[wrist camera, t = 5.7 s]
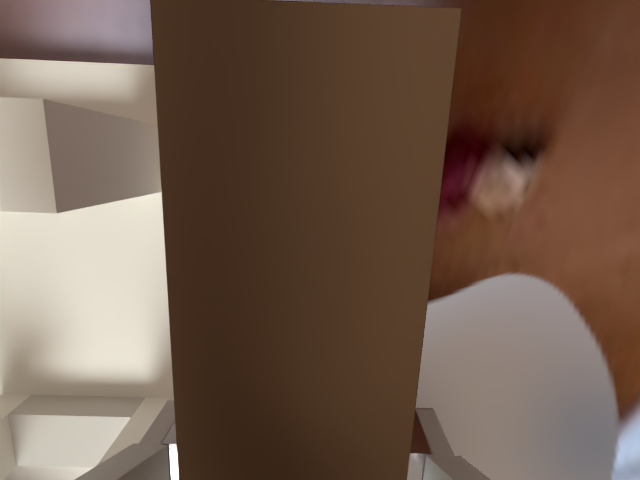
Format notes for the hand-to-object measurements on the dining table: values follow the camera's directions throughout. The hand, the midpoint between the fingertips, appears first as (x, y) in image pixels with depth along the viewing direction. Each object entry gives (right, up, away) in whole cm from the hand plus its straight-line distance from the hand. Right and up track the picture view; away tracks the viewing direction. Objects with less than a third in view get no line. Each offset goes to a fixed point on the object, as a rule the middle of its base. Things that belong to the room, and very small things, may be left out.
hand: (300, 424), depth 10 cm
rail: (0, 0, +2) cm, 2 cm away
